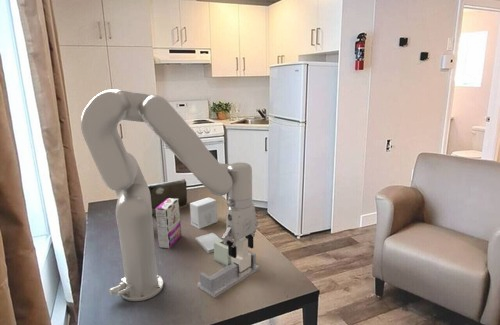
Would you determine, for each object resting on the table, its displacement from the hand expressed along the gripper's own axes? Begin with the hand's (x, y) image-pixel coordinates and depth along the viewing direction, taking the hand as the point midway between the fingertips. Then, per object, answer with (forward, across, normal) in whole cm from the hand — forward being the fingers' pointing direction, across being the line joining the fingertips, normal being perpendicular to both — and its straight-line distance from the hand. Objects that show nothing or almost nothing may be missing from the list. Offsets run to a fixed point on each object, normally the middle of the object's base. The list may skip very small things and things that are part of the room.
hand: (241, 251), depth 108 cm
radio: (+8, +14, +64) cm, 66 cm away
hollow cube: (+7, +2, +8) cm, 11 cm away
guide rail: (+7, -6, 0) cm, 9 cm away
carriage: (+6, 0, 0) cm, 6 cm away
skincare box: (+7, +16, +38) cm, 42 cm away
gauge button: (+5, +2, +8) cm, 10 cm away
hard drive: (+8, +5, +22) cm, 24 cm away
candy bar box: (+7, -4, +35) cm, 36 cm away
